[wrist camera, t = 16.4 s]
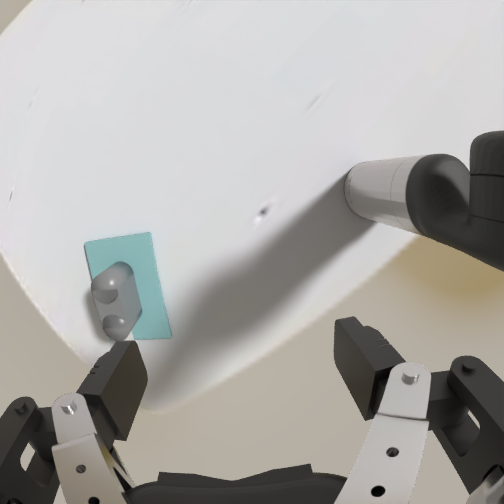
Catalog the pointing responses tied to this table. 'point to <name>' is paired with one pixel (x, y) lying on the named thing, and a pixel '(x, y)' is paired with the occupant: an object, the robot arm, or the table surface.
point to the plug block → (117, 300)
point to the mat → (146, 276)
